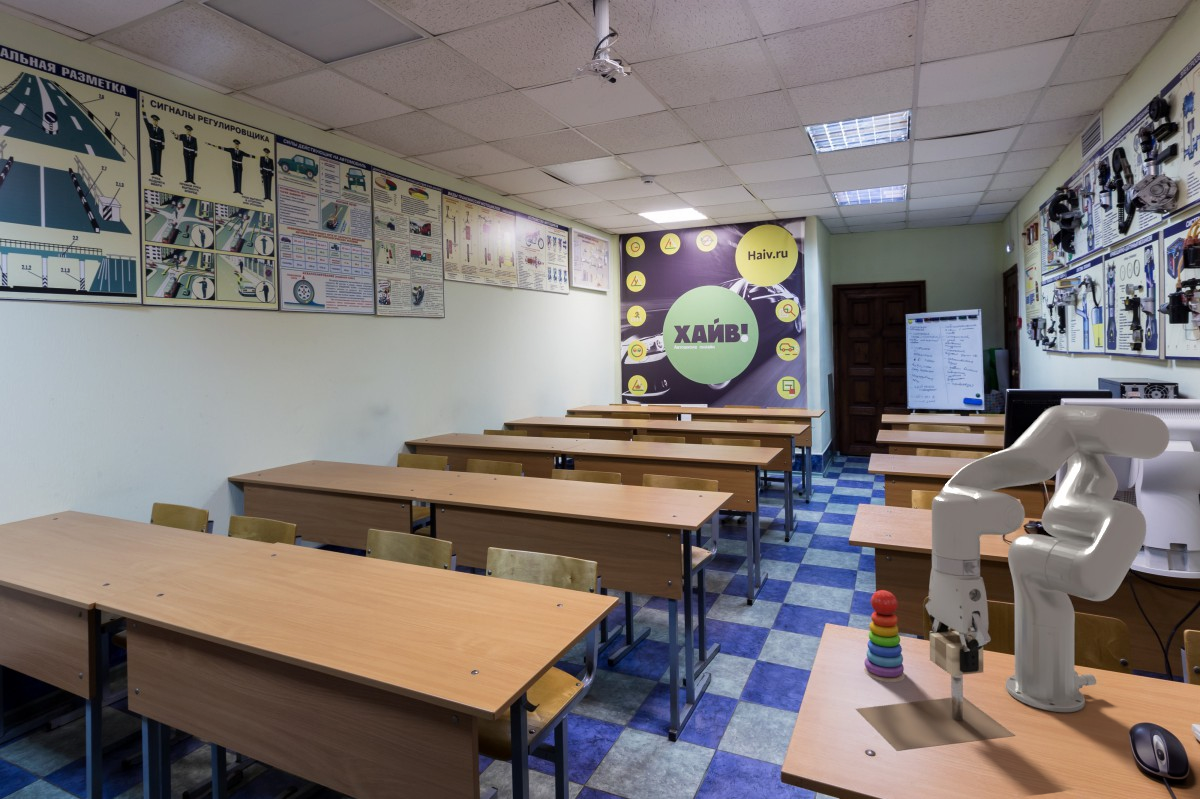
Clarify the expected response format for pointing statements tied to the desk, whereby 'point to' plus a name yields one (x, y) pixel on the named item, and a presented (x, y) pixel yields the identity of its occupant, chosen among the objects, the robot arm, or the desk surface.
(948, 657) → the wooden square holder
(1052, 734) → the desk surface
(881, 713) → the brown rectangular board
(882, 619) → the stacking toy
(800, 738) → the desk surface
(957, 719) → the grey glassy cylinder
